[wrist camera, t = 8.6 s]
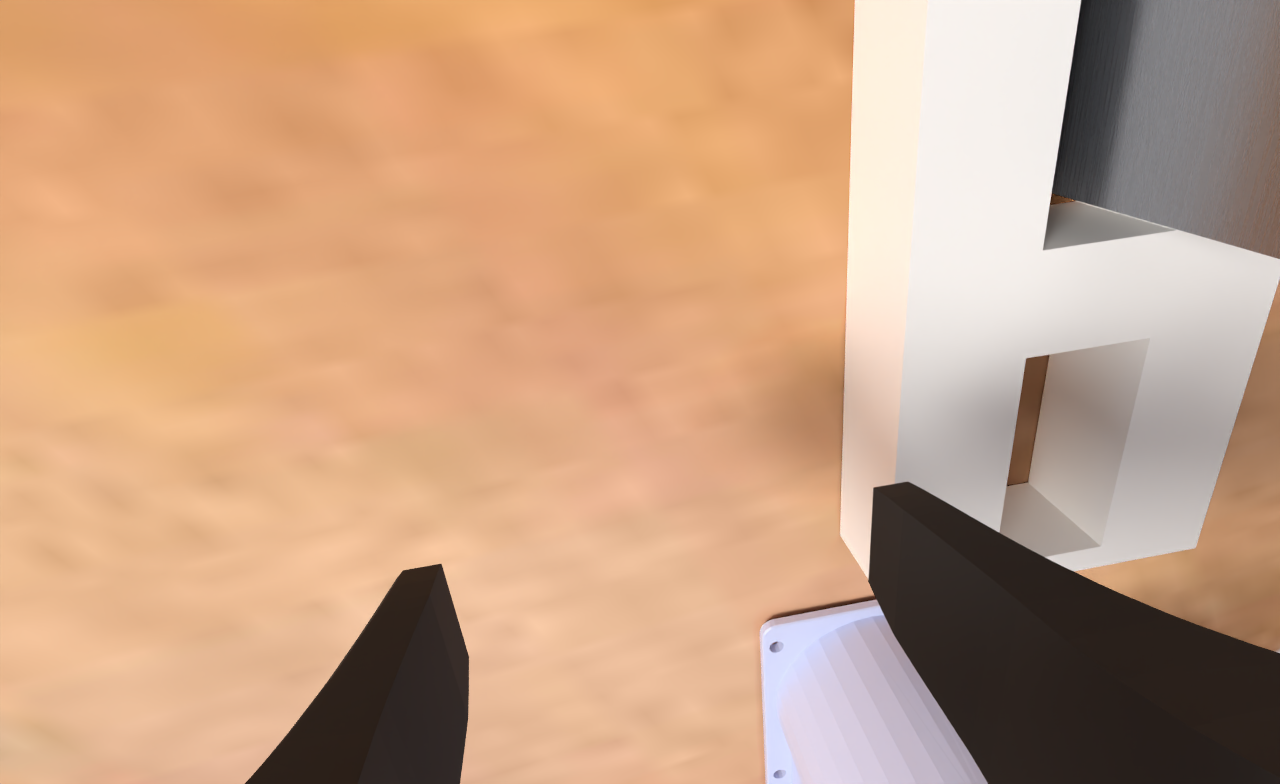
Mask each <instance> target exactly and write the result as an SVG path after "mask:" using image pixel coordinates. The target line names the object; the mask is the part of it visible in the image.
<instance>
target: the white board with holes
mask: <svg viewBox="0 0 1280 784" xmlns="http://www.w3.org/2000/svg"><path fill="white" fill-rule="evenodd" d="M1080 5H1081V0H855V15H854V51H853V87H852V123H851V159H850V195H849V231H848V267H847V303H846V339H845V375H844V411H843V447H842V483H841V519H840V536H841V537H842V539H843V540H844V542H845V544H846V545H847V547H848V548H849V550H850V551H851V553H852V554H853V556H854V558H855V559H856V561H857V562H858V564H859V565H860V567H861V569H862V570H863V572H864V573H865V575H866V576H867V578H868V579H869V561H870V542H871V522H872V503H873V488H874V487H879V486H885V485H891V484H896V483H902V482H910V483H912V484H914V485H916V486H918V487H920V488H922V489H924V490H925V491H927V492H929V493H931V494H933V495H934V496H936V497H938V498H940V499H941V500H943V501H945V502H947V503H948V504H950V505H952V506H954V507H955V508H957V509H959V510H960V511H962V512H964V513H966V514H967V515H969V516H971V517H973V518H974V519H976V520H978V521H980V522H981V523H983V524H985V525H987V526H988V527H990V528H992V529H994V530H996V531H997V532H999V533H1001V534H1003V535H1004V536H1006V537H1008V538H1010V539H1012V540H1014V541H1015V542H1017V543H1019V544H1021V545H1023V546H1025V547H1026V548H1028V549H1030V550H1032V551H1034V552H1036V553H1038V554H1040V555H1042V556H1044V557H1045V558H1047V559H1049V560H1051V561H1053V562H1055V563H1057V564H1059V565H1061V566H1063V567H1065V568H1067V569H1069V570H1071V571H1078V570H1083V569H1089V568H1094V567H1099V566H1104V565H1110V564H1115V563H1120V562H1125V561H1130V560H1136V559H1141V558H1146V557H1151V556H1157V555H1162V554H1167V553H1172V552H1177V551H1183V550H1188V549H1193V548H1196V545H1197V542H1198V538H1199V535H1200V532H1201V529H1202V526H1203V522H1204V519H1205V516H1206V513H1207V510H1208V506H1209V503H1210V500H1211V497H1212V494H1213V490H1214V487H1215V484H1216V481H1217V478H1218V475H1219V471H1220V468H1221V465H1222V462H1223V459H1224V455H1225V452H1226V449H1227V446H1228V443H1229V439H1230V436H1231V433H1232V430H1233V427H1234V423H1235V420H1236V417H1237V414H1238V411H1239V407H1240V404H1241V401H1242V398H1243V395H1244V391H1245V388H1246V385H1247V382H1248V379H1249V375H1250V372H1251V369H1252V366H1253V363H1254V359H1255V356H1256V353H1257V350H1258V347H1259V343H1260V340H1261V337H1262V334H1263V331H1264V327H1265V324H1266V321H1267V318H1268V315H1269V311H1270V308H1271V305H1272V302H1273V299H1274V295H1275V292H1276V289H1277V286H1278V283H1279V280H1280V259H1277V258H1274V257H1271V256H1267V255H1264V254H1260V253H1257V252H1253V251H1250V250H1246V249H1243V248H1239V247H1236V246H1232V245H1229V244H1226V243H1222V242H1219V241H1215V240H1212V239H1208V238H1205V237H1201V236H1198V235H1194V234H1191V233H1187V232H1184V231H1181V230H1177V229H1174V228H1170V227H1167V226H1163V225H1160V224H1156V223H1153V222H1149V221H1146V220H1143V219H1139V218H1136V217H1132V216H1129V215H1125V214H1122V213H1118V212H1115V211H1111V210H1108V209H1104V208H1101V207H1098V206H1094V205H1091V204H1087V203H1084V202H1080V201H1077V200H1076V201H1074V202H1067V203H1060V204H1054V205H1050V200H1051V193H1052V187H1053V180H1054V174H1055V167H1056V161H1057V154H1058V148H1059V141H1060V135H1061V128H1062V122H1063V115H1064V109H1065V102H1066V96H1067V89H1068V83H1069V76H1070V70H1071V63H1072V57H1073V50H1074V44H1075V37H1076V31H1077V24H1078V18H1079V11H1080ZM1043 355H1049V361H1048V367H1047V373H1046V379H1045V385H1044V391H1043V397H1042V403H1041V409H1040V414H1039V420H1038V426H1037V432H1036V438H1035V444H1034V450H1033V456H1032V462H1031V467H1030V473H1029V479H1028V483H1022V484H1017V485H1011V486H1007V480H1008V473H1009V467H1010V460H1011V454H1012V447H1013V441H1014V434H1015V428H1016V421H1017V415H1018V408H1019V402H1020V395H1021V389H1022V382H1023V376H1024V369H1025V363H1026V358H1031V357H1037V356H1043Z"/></svg>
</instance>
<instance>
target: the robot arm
mask: <svg viewBox="0 0 1280 784" xmlns="http://www.w3.org/2000/svg"><path fill="white" fill-rule="evenodd" d="M868 582H869V584H870V586H871V588H872V590H873V593H874V595H875V597H876V600H871V601H866V602H861V603H855V604H850V605H845V606H840V607H834V608H829V609H824V610H819V611H813V612H808V613H803V614H797V615H792V616H787V617H782V618H776V619H772V620H769V621H767V622H766V623H764V624H763V625H762V627H761V629H760V651H761V677H762V703H763V729H764V754H765V780H766V784H1280V653H1277V652H1274V651H1271V650H1268V649H1264V648H1261V647H1258V646H1255V645H1253V644H1250V643H1247V642H1244V641H1241V640H1238V639H1236V638H1233V637H1230V636H1227V635H1224V634H1221V633H1218V632H1216V631H1213V630H1210V629H1207V628H1204V627H1201V626H1199V625H1196V624H1194V623H1191V622H1188V621H1186V620H1183V619H1180V618H1178V617H1175V616H1173V615H1170V614H1168V613H1165V612H1163V611H1161V610H1158V609H1156V608H1153V607H1151V606H1149V605H1146V604H1144V603H1141V602H1139V601H1137V600H1134V599H1132V598H1130V597H1127V596H1125V595H1122V594H1120V593H1118V592H1116V591H1113V590H1111V589H1109V588H1107V587H1105V586H1102V585H1100V584H1098V583H1096V582H1094V581H1092V580H1090V579H1088V578H1086V577H1084V576H1082V575H1079V574H1077V573H1075V572H1073V571H1071V570H1069V569H1067V568H1065V567H1063V566H1061V565H1059V564H1057V563H1055V562H1053V561H1051V560H1049V559H1047V558H1045V557H1044V556H1042V555H1040V554H1038V553H1036V552H1034V551H1032V550H1030V549H1028V548H1026V547H1025V546H1023V545H1021V544H1019V543H1017V542H1015V541H1014V540H1012V539H1010V538H1008V537H1006V536H1004V535H1003V534H1001V533H999V532H997V531H996V530H994V529H992V528H990V527H988V526H987V525H985V524H983V523H981V522H980V521H978V520H976V519H974V518H973V517H971V516H969V515H967V514H966V513H964V512H962V511H960V510H959V509H957V508H955V507H954V506H952V505H950V504H948V503H947V502H945V501H943V500H941V499H940V498H938V497H936V496H934V495H933V494H931V493H929V492H927V491H925V490H924V489H922V488H920V487H918V486H916V485H914V484H912V483H910V482H902V483H896V484H891V485H885V486H879V487H874V488H873V503H872V522H871V542H870V561H869V580H868ZM774 642H777V643H775V644H772V643H774ZM468 696H469V656H468V652H467V649H466V646H465V642H464V639H463V636H462V632H461V629H460V625H459V622H458V619H457V615H456V612H455V608H454V605H453V602H452V598H451V595H450V591H449V588H448V585H447V581H446V578H445V575H444V571H443V568H442V564H438V565H432V566H426V567H421V568H415V569H409V570H404V571H402V572H401V574H400V575H399V576H398V578H397V579H396V581H395V582H394V584H393V585H392V587H391V588H390V590H389V591H388V593H387V594H386V596H385V598H384V599H383V601H382V602H381V604H380V605H379V607H378V608H377V610H376V611H375V613H374V615H373V616H372V618H371V619H370V621H369V622H368V624H367V625H366V627H365V628H364V630H363V631H362V633H361V634H360V636H359V637H358V639H357V640H356V642H355V643H354V645H353V646H352V647H351V649H350V650H349V652H348V653H347V655H346V656H345V657H344V659H343V660H342V662H341V663H340V665H339V666H338V668H337V669H336V670H335V672H334V673H333V675H332V676H331V678H330V679H329V680H328V682H327V683H326V684H325V686H324V687H323V688H322V690H321V691H320V692H319V694H318V695H317V696H316V698H315V699H314V700H313V702H312V703H311V704H310V705H309V707H308V708H307V709H306V711H305V712H304V713H303V715H302V716H301V717H300V718H299V720H298V721H297V722H296V724H295V725H294V726H293V728H292V729H291V730H290V731H289V733H288V734H287V735H286V736H285V738H284V739H283V740H282V741H281V742H280V744H279V745H278V746H277V747H276V749H275V750H274V751H273V752H272V753H271V755H270V756H269V757H268V758H267V759H266V760H265V762H264V763H263V764H262V765H261V766H260V767H259V769H258V770H257V771H256V772H255V773H254V774H253V775H252V776H251V778H250V779H249V780H248V781H247V782H246V783H245V784H460V778H461V770H462V763H463V755H464V747H465V739H466V731H467V723H468Z"/></svg>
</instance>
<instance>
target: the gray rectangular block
mask: <svg viewBox="0 0 1280 784" xmlns="http://www.w3.org/2000/svg"><path fill="white" fill-rule="evenodd" d="M1052 193H1053V194H1056V195H1059V196H1063V197H1066V198H1070V199H1073V200H1077V201H1080V202H1084V203H1087V204H1091V205H1094V206H1098V207H1101V208H1104V209H1108V210H1111V211H1115V212H1118V213H1122V214H1125V215H1129V216H1132V217H1136V218H1139V219H1143V220H1146V221H1149V222H1153V223H1156V224H1160V225H1163V226H1167V227H1170V228H1174V229H1177V230H1181V231H1184V232H1187V233H1191V234H1194V235H1198V236H1201V237H1205V238H1208V239H1212V240H1215V241H1219V242H1222V243H1226V244H1229V245H1232V246H1236V247H1239V248H1243V249H1246V250H1250V251H1253V252H1257V253H1260V254H1264V255H1267V256H1271V257H1274V258H1277V259H1280V0H1081V5H1080V11H1079V18H1078V24H1077V31H1076V37H1075V44H1074V50H1073V57H1072V63H1071V70H1070V76H1069V83H1068V89H1067V96H1066V102H1065V109H1064V115H1063V122H1062V128H1061V135H1060V141H1059V148H1058V154H1057V161H1056V167H1055V174H1054V180H1053V187H1052Z"/></svg>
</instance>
